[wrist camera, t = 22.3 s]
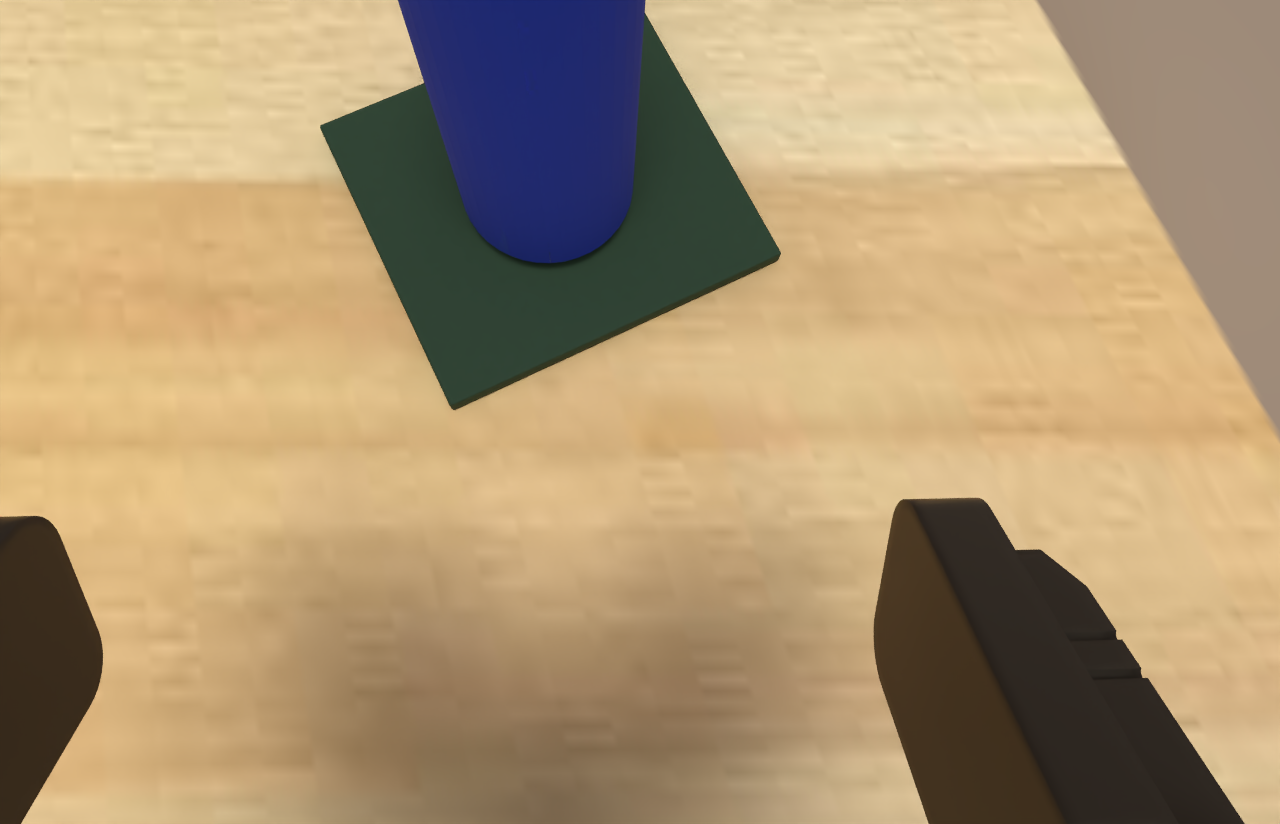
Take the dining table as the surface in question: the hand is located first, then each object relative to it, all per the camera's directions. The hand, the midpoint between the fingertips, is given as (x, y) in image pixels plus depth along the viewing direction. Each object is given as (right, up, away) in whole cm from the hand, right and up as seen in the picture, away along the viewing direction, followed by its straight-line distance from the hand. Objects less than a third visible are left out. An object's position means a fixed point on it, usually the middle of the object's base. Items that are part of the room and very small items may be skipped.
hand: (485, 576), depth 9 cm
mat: (-1, +8, +20) cm, 22 cm away
